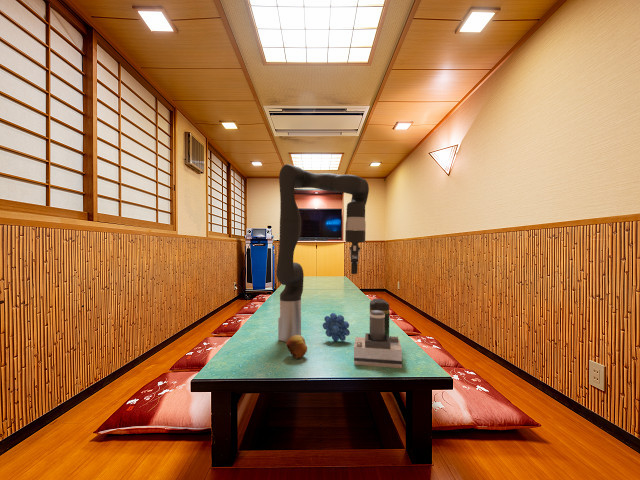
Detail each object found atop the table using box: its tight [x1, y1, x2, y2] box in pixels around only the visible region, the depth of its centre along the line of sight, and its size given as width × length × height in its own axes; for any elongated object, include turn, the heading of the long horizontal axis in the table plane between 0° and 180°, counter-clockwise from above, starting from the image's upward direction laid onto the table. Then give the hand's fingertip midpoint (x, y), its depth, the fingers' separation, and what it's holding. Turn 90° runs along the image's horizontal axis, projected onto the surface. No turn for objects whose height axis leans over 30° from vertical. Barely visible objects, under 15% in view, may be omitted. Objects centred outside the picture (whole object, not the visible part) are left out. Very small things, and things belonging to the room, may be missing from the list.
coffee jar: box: [369, 298, 390, 336], centre depth 119 cm, size 10×8×19 cm
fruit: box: [285, 335, 308, 359], centre depth 106 cm, size 8×8×8 cm
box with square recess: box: [353, 332, 403, 369], centre depth 104 cm, size 16×11×8 cm
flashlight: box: [369, 310, 385, 341], centre depth 104 cm, size 5×5×11 cm
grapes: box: [322, 312, 351, 342], centre depth 122 cm, size 12×7×12 cm, turn 84°
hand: (354, 272), depth 109 cm, fingers open, 8 cm apart
